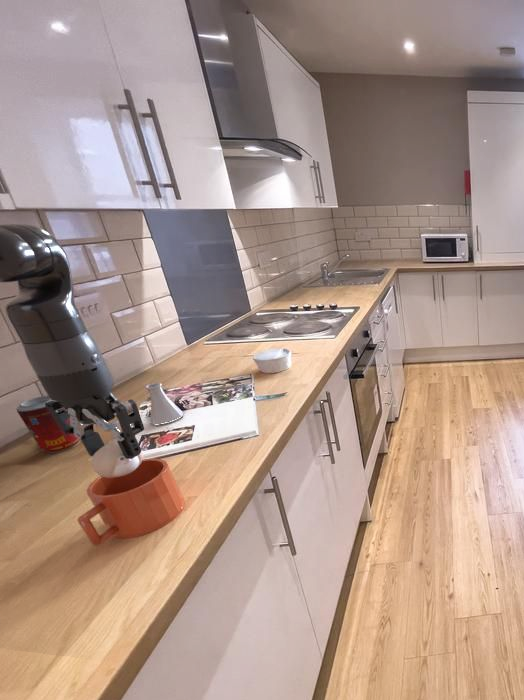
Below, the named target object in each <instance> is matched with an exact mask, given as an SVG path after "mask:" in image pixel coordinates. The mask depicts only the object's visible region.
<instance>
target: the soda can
mask: <svg viewBox="0 0 524 700" xmlns="http://www.w3.org/2000/svg"><path fill="white" fill-rule="evenodd" d="M50 401H52V400H51V399H50V398H49V397H48V395H42V396H37V397H33V398H30V399H27V400H25V401H23V402H21V403H20V404H19V405H18V406H17V408H16V413H18V416H19V417H20V418H21V420H22V422H23V423H24V425H25V426H26V428H27V430H28V432H29V434H30V435H31V436H32V439H34V441H35V443H36V445H37V446H38V447H39V449H41V450H43V451H46V453H49V454H55V453H61V452H65V451H67V450H70V449H73V448H74V447H77V446H78V445H79V444H80V443H81V439H78V438H76V437H75V436H74V434H70V435H66V434H65V433H64V432H63V431H62V429H61V428H60V427H59V425H58V424H57V422H56V421H55V419H54V418H53V416H52V415H51V414H50V412H49V411H48V409H47V408H46V406H45V403H48V402H50ZM66 422H67V423H68V425H69V426H70V418H69V419H67V420H66Z"/></svg>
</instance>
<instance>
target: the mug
mask: <svg viewBox="0 0 524 700" xmlns="http://www.w3.org/2000/svg"><path fill="white" fill-rule="evenodd" d="M86 494H87V496H88V498H89V501H91V503H92V505H93V507H92V508H91V509H89V510H87V511H86V512H85V513H83V514H81V515H80V516H79V517H78V518H77V523H78V524H79V526H80V528H81V529H82V531H83V532H84V534H85V536H86V537H87V539H88V541H90V543H91V545H92V546H93V547H98V546H100V545H101V544H102V543H104V542H106V541H107V540H108V539H110V538H111V537H112V536H113V537H114V538H118V539H131V538H136V537H140V536H144V535H147V534H150V533H152V532H155V531H157V530H159V529H162V528H163V527H165V526H166V525H168V524H169V523H171V522H172V521H174V520H175V519H176V518H177V517H178V516H179V515H180V514H181V513H182V512H183V510H184V509H185V507H186V502H185V499H184V497H183V494H182V492H181V491H180V488H179V486H178V484H177V481H176V479H175V477H174V476H173V472H172V471H171V468H170V466H169V464H168V462H167V461H166V460H165V459H162V458H145V459H144V458H143V459H142V462H141V464H140V465H139V466H138V467H137V468H136V469H135V470H134V471H133V472H131V473H129V474H127V475H124V476H120V477H114V478H107V477H103V476H100V475H99V476H98V477H96V478H95V479H94V480H93V481H92V482H91V483H90V484H89V485H88V487H87V489H86ZM97 515H99V517H100V519H101V520H102V522H103V524H104V525H105V527H106V530H105V531H104V532H102V533H101V534H99V532H98V531H97V529H96V528H95V526H94V524H93V523H92V521H91V519H93V518H94V517H95V516H97Z"/></svg>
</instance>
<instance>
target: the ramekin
mask: <svg viewBox="0 0 524 700" xmlns="http://www.w3.org/2000/svg"><path fill="white" fill-rule="evenodd" d="M252 359H253V362H255V364H256V365H255V366H257V369H258V370H259V371H260V372H262V373H264V374H276V373H280V372H281V373H282V372H284V371H287V370H288V369H289V368H290V367H291V365H292V352H291V349H288V348H281V347H280V348H270V349H265V350H262V351H259V352H257V353H255V354H254V355H253V356H252Z"/></svg>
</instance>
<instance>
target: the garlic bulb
mask: <svg viewBox="0 0 524 700" xmlns="http://www.w3.org/2000/svg"><path fill="white" fill-rule="evenodd" d="M120 429H121V428H120ZM119 431H120V432H122V429H121V430H119ZM117 441H118V440H117V439H116V438H115V437H114V438H113V439H110V440H109V441H108V442H107V443H106V444H105V446H103V447H102V448H100V449H99V450H98V451H97V452H96V453H95V454H94V455H93V456H91V460H90V463H91V465H92V469H93V471H94V472H95V473H96V474H97V475H98V476H99V477H100V476H103V477H107V478H114V477H120V476H124V475H127V474H129V473H131V472H133V471H134V470H135V469H136V468H137V467H138V466H139V465H140V464H141V462H142V460H144V451H143V450H142V449H141V453H140V454H139V455H137V456H136V457H134V458H133V459H126V458H125V456H124V454H123V452H122V450H121V448H120V446H119V444H118V442H117Z"/></svg>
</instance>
